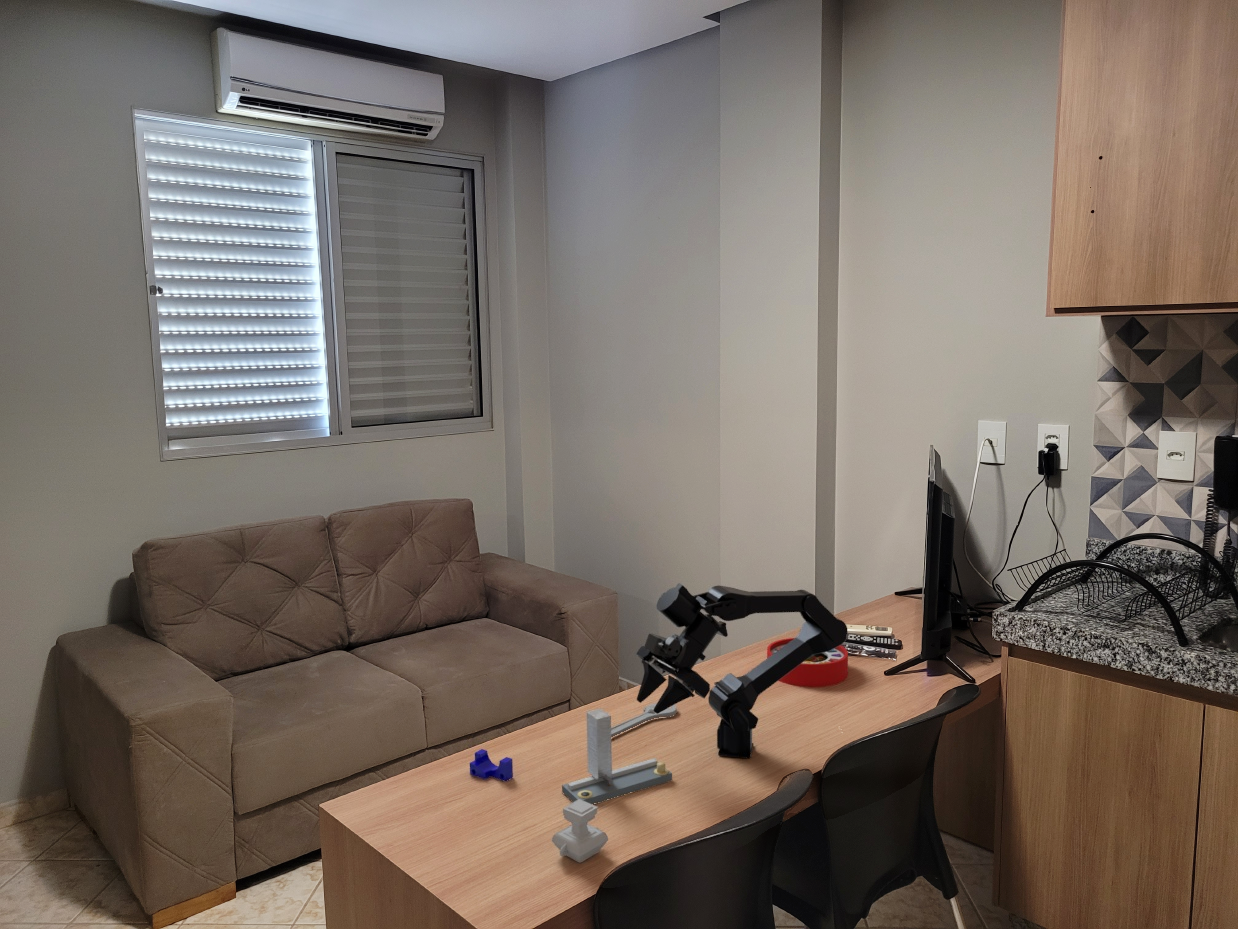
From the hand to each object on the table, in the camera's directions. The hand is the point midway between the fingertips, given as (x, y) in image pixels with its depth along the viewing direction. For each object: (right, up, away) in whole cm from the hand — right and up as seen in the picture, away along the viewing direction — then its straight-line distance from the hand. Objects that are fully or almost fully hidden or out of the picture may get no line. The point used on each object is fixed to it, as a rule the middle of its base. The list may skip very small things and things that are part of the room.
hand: (646, 706), depth 172 cm
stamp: (-12, -18, -25) cm, 33 cm away
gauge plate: (-6, -14, -3) cm, 16 cm away
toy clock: (+42, -6, +54) cm, 68 cm away
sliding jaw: (-8, -12, -5) cm, 16 cm away
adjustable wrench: (-3, -11, +24) cm, 27 cm away
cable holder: (-30, -14, +2) cm, 33 cm away
